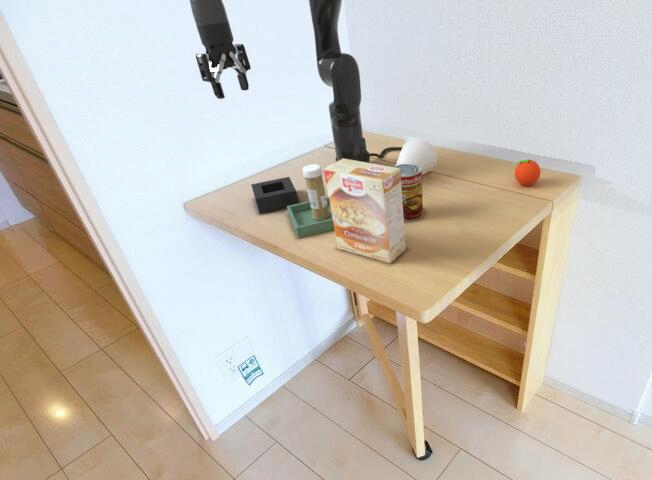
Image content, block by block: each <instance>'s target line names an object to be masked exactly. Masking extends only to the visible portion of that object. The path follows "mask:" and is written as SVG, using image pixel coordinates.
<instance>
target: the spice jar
mask: <svg viewBox="0 0 652 480" xmlns="http://www.w3.org/2000/svg"><path fill="white" fill-rule="evenodd" d="M302 174H303V178H304V181H305V186H306V192H307V196H308V201H310V206H311V209H312V213H313V218H314V219H315V220H324V219H327V218H328V217H329V216H330V213H329V210H328V205H327V199H326V197H327V194H326V189H325V186H324V185H325V184H324V179H323V168H322V166H321V165H320V164H317V163H316V164H315V163H314V164H308V165H305V166H304V167H302Z"/></svg>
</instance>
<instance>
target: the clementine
mask: <svg viewBox="0 0 652 480" xmlns="http://www.w3.org/2000/svg"><path fill="white" fill-rule="evenodd" d="M516 164H517V165H516ZM514 165H516V167H515V169H514V179H515V180H516V182H517V183H518V184H519V185H521V186H524V187H525V186H532V185H534V184H535V183H536V182H538V180H539V178H540V176H541V168H540V165H539V164H538V163H537V162H536V161H535V160H533V159H521V160H518V161H516V162H515V163H514Z"/></svg>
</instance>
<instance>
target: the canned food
mask: <svg viewBox="0 0 652 480" xmlns="http://www.w3.org/2000/svg"><path fill="white" fill-rule="evenodd" d="M393 167H395V168H400V173H401V187H402V202H403V217H404V222H413V221H417V220H419V219H421V218H422V217H423V215H424V204H423V203H424V201H423V180H422V179H423V178H422V177H423V175H422V172H421V167H420V166H418V165H414V164H401V165H397V166H395V165H394V166H393Z"/></svg>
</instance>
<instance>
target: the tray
mask: <svg viewBox="0 0 652 480" xmlns="http://www.w3.org/2000/svg"><path fill="white" fill-rule="evenodd" d="M326 199H327V205H328V210H329V213H330V216H329V217H328V218H327V219H324V220H315V219H314V218H313V213H312V209H311V206H310V201H309V200H308V201H304V202H299V204H294V205H290V206H287V208H286V209H287V213H288V217H289V219H290V221H291V224H292V226H293V228H294V231H295V233H296V237H297V238H298V239H300V238H301V239H302V238H305V237H309V236H313V235H317V234H323V233H326V232H331V231H335V229H334V223H333V218H332V212H331V207H330V201H329V196H326Z"/></svg>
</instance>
